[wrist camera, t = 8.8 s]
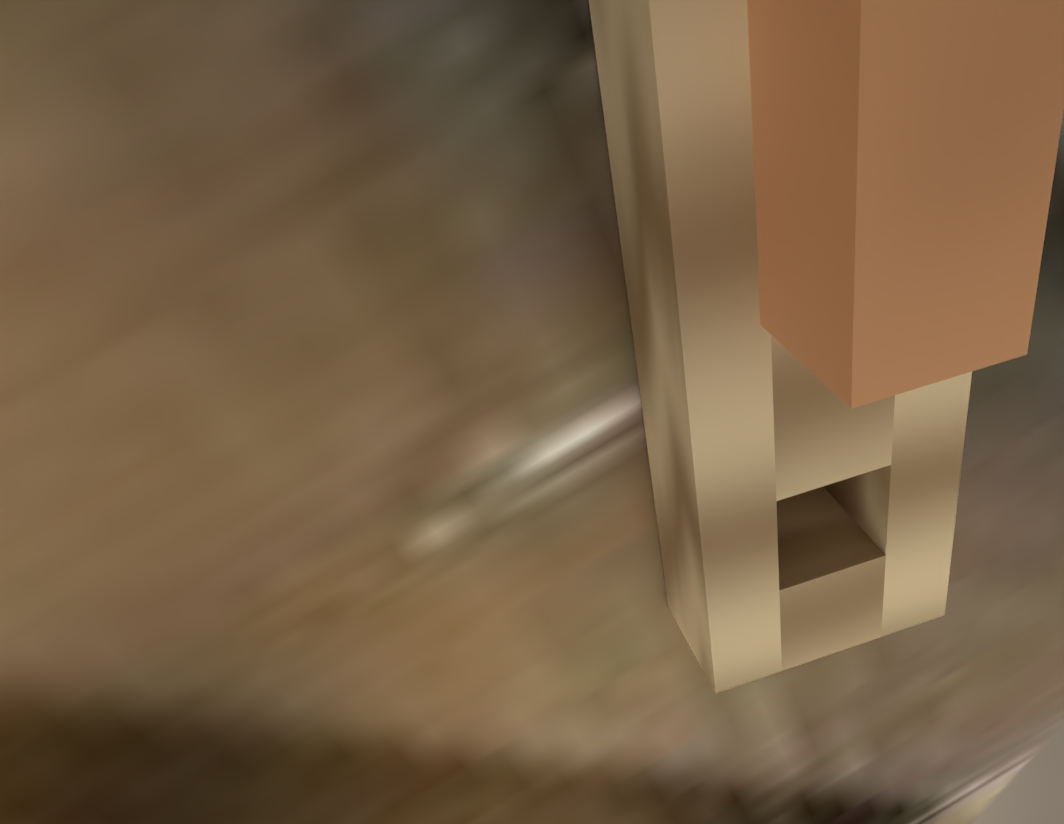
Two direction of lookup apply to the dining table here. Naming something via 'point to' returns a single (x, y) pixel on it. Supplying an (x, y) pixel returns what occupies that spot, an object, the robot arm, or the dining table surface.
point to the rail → (754, 381)
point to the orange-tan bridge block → (902, 182)
